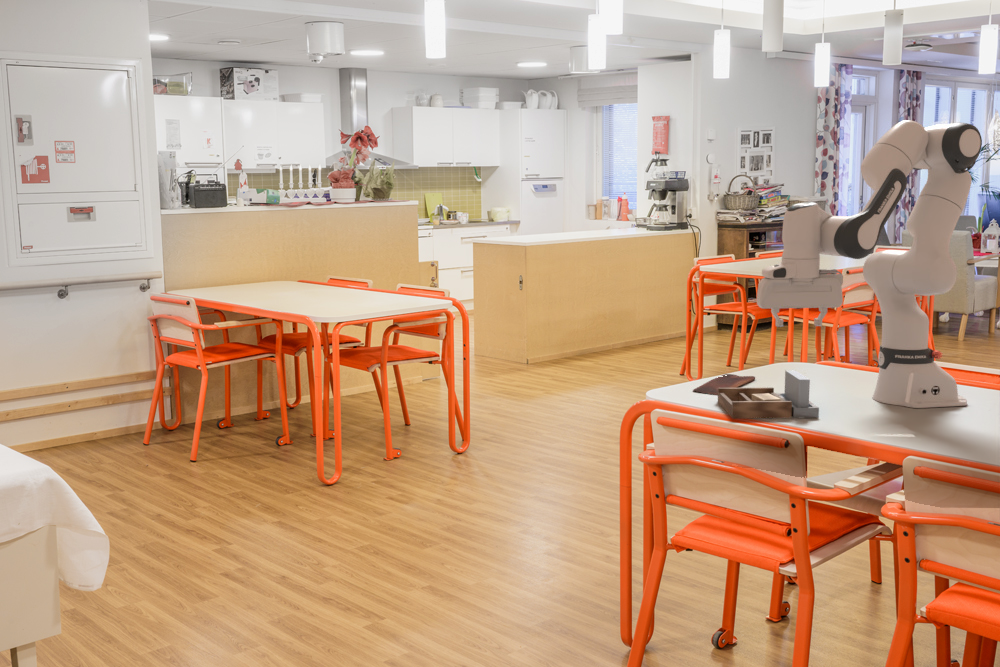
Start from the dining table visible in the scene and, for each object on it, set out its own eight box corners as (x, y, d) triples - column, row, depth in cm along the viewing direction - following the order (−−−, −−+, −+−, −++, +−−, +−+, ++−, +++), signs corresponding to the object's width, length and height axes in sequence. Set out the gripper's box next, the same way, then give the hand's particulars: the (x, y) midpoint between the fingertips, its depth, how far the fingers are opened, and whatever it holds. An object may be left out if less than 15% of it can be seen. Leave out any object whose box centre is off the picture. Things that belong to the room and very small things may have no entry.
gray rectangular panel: (793, 405, 240) (795, 370, 238) (808, 416, 228) (809, 379, 226) (784, 405, 240) (785, 370, 238) (798, 416, 228) (799, 379, 226)
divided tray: (772, 402, 242) (772, 387, 242) (791, 418, 225) (791, 401, 225) (717, 403, 242) (718, 387, 242) (732, 418, 226) (733, 402, 225)
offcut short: (768, 401, 238) (768, 393, 237) (780, 407, 231) (780, 399, 230) (751, 401, 237) (751, 394, 237) (763, 407, 230) (763, 399, 230)
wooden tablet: (721, 391, 249) (687, 383, 255) (720, 399, 249) (686, 391, 255) (758, 376, 270) (725, 369, 276) (757, 383, 271) (724, 376, 276)
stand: (797, 402, 242) (797, 393, 242) (818, 417, 225) (818, 407, 225) (774, 402, 242) (774, 393, 242) (793, 418, 225) (793, 407, 225)
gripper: (838, 268, 232) (836, 323, 234) (755, 269, 232) (754, 325, 234) (847, 270, 225) (845, 327, 227) (762, 271, 226) (760, 328, 228)
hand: (798, 326), depth 231 cm, fingers open, 8 cm apart
